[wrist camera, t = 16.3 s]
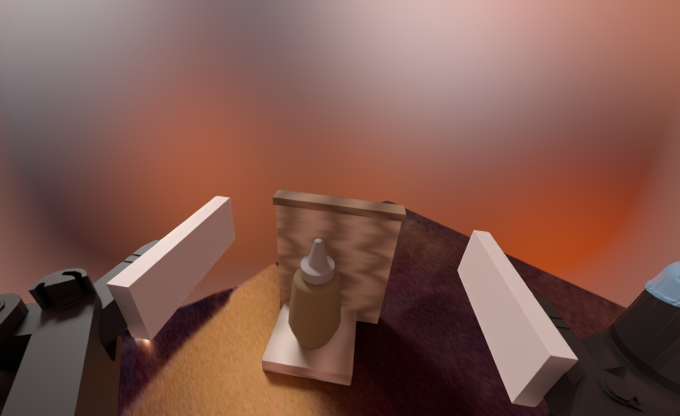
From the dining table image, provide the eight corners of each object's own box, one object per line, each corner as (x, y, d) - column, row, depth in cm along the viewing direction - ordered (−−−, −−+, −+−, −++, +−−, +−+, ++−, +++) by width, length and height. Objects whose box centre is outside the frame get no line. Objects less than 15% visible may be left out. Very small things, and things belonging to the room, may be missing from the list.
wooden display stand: (378, 313, 48) (404, 205, 37) (380, 390, 37) (417, 267, 25) (282, 298, 49) (278, 189, 38) (254, 368, 38) (237, 241, 27)
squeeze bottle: (336, 360, 37) (349, 266, 29) (282, 353, 38) (278, 258, 29) (340, 313, 44) (351, 227, 36) (294, 308, 45) (294, 221, 36)
